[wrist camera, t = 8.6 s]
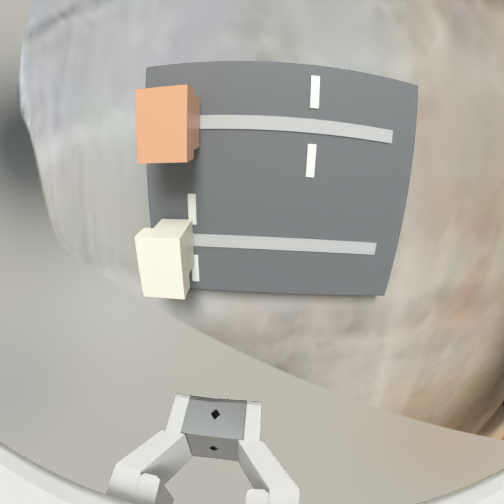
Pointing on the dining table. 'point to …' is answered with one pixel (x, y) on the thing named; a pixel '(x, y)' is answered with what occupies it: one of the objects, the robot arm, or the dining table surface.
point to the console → (290, 176)
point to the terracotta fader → (167, 124)
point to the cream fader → (166, 258)
